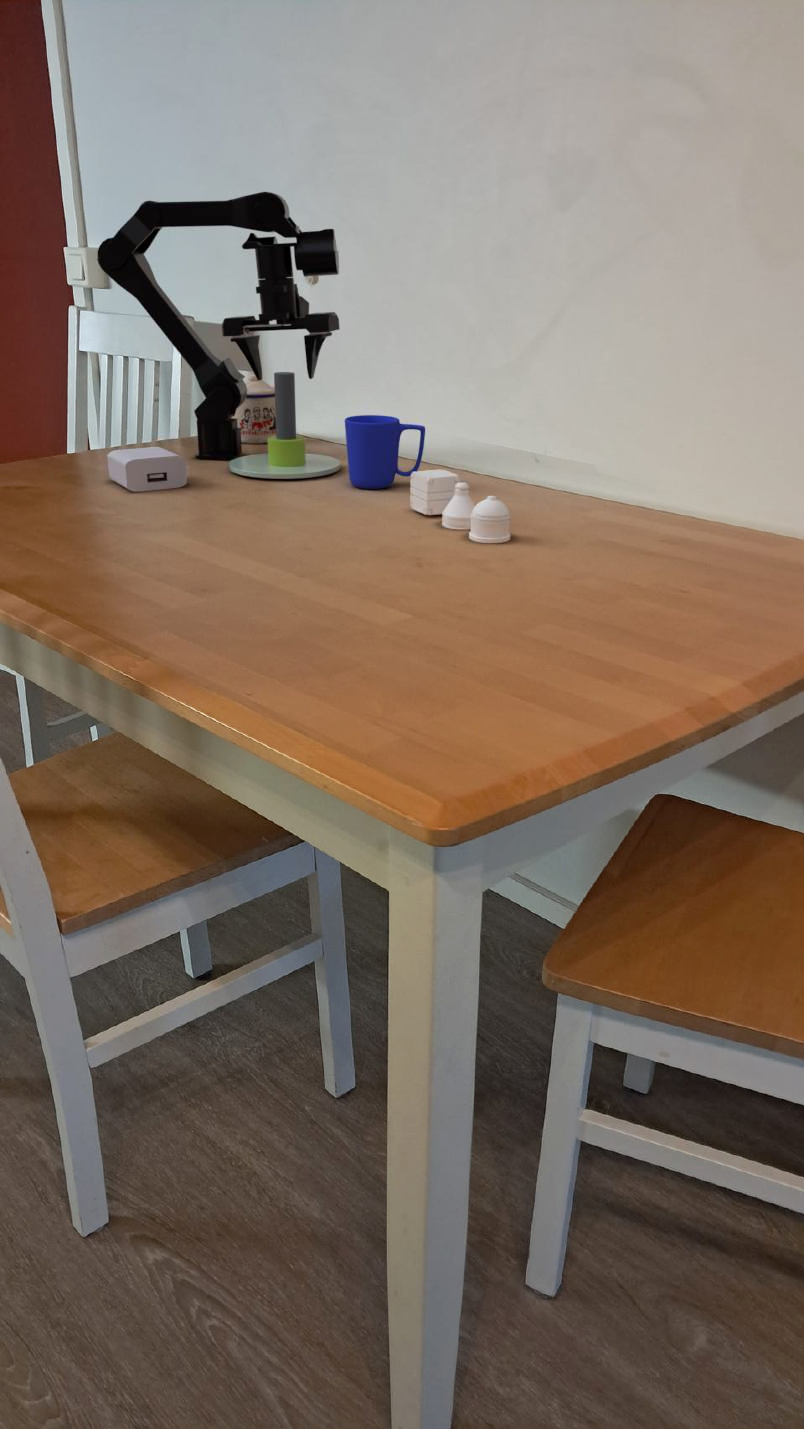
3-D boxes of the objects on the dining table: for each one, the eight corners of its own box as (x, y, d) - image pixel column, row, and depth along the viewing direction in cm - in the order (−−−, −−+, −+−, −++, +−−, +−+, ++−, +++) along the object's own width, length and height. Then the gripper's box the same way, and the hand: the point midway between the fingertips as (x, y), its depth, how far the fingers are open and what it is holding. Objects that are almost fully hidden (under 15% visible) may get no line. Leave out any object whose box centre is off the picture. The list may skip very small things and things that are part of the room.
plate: (214, 478, 167) (214, 470, 166) (247, 457, 183) (246, 450, 182) (327, 483, 164) (326, 475, 164) (350, 462, 180) (349, 454, 180)
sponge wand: (269, 467, 170) (265, 375, 164) (267, 460, 175) (264, 370, 169) (306, 466, 170) (304, 375, 165) (304, 459, 176) (302, 370, 170)
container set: (409, 510, 148) (409, 471, 146) (442, 507, 150) (443, 468, 148) (482, 545, 132) (484, 500, 130) (518, 540, 134) (520, 497, 132)
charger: (154, 469, 173) (187, 486, 161) (97, 474, 168) (127, 492, 157) (151, 439, 171) (185, 455, 159) (94, 444, 166) (124, 460, 155)
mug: (423, 492, 159) (425, 424, 155) (343, 491, 159) (342, 422, 155) (424, 481, 167) (425, 415, 163) (347, 480, 167) (346, 414, 163)
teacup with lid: (237, 445, 194) (234, 378, 189) (227, 437, 201) (224, 372, 197) (301, 442, 197) (299, 376, 193) (289, 434, 205) (287, 371, 201)
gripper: (346, 273, 176) (353, 372, 182) (243, 279, 181) (253, 375, 188) (323, 276, 166) (331, 380, 173) (214, 282, 172) (226, 383, 178)
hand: (285, 379), depth 178 cm, fingers open, 9 cm apart
